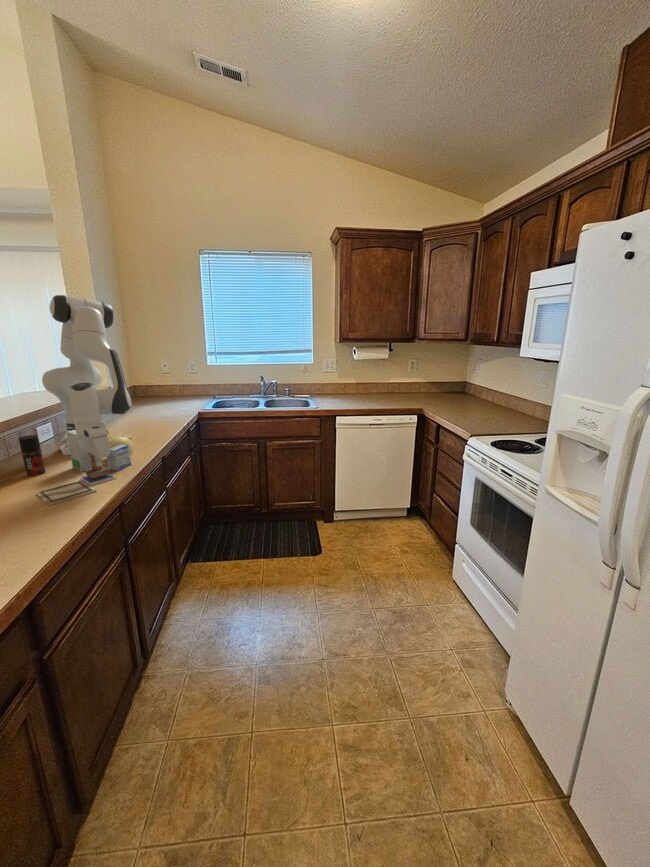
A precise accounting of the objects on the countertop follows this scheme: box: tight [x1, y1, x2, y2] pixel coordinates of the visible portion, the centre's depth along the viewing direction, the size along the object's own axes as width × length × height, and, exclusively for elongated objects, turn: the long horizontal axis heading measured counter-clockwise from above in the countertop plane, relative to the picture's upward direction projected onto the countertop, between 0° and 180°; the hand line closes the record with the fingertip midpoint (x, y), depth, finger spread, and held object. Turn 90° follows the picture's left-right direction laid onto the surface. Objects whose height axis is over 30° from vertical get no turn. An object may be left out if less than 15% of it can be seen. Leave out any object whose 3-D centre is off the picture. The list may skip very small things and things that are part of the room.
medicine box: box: [106, 445, 132, 472], centre depth 156 cm, size 8×4×9 cm, turn 168°
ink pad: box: [79, 473, 117, 487], centre depth 144 cm, size 9×9×1 cm
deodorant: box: [18, 434, 46, 477], centre depth 149 cm, size 6×6×15 cm
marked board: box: [35, 480, 97, 507], centre depth 132 cm, size 14×14×1 cm
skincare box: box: [66, 430, 92, 472], centre depth 155 cm, size 8×7×16 cm
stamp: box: [85, 453, 111, 478], centre depth 143 cm, size 6×6×9 cm
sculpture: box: [108, 433, 134, 457], centre depth 166 cm, size 12×12×11 cm
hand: (96, 464), depth 143 cm, fingers closed on stamp, 3 cm apart
